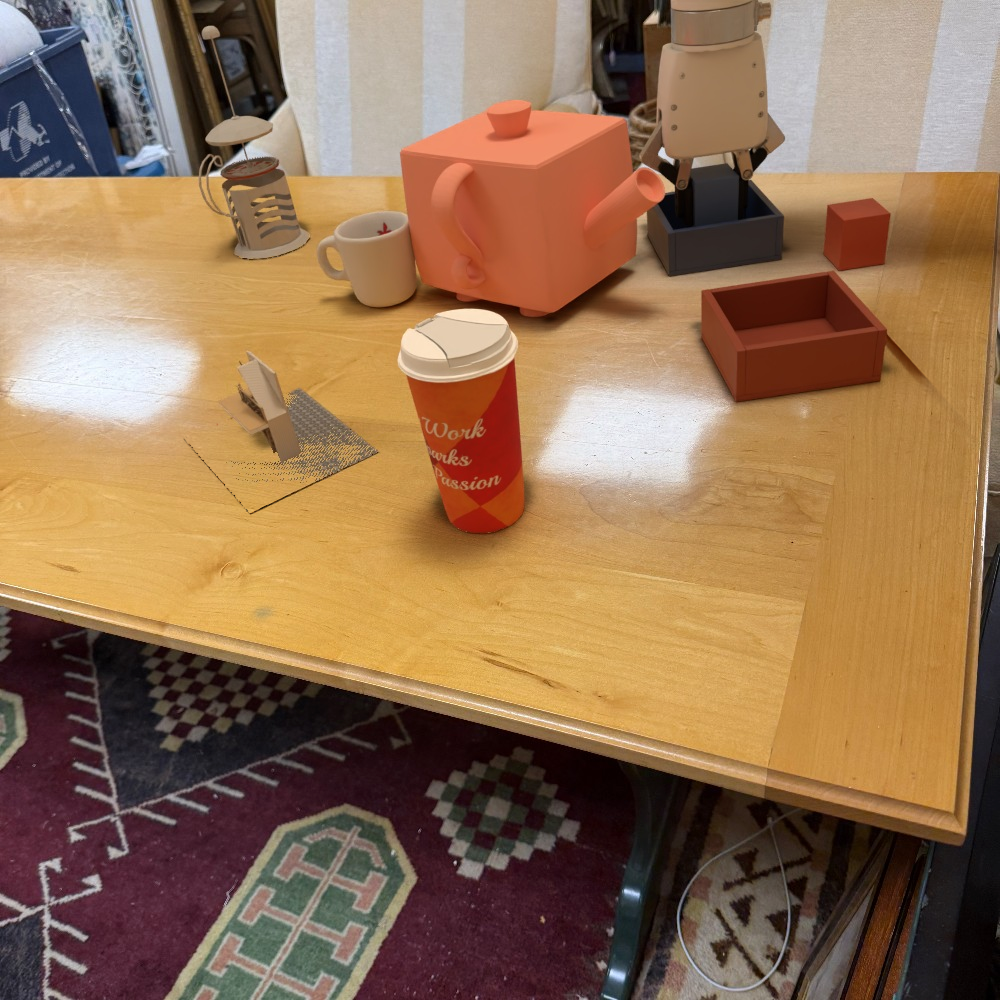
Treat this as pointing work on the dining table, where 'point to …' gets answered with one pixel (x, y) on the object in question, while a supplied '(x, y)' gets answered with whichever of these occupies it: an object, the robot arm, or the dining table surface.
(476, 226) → the teapot
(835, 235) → the red block
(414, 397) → the paper cup
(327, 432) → the architectural model
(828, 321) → the terracotta bin
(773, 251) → the slate bin
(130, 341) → the dining table surface
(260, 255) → the french press
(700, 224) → the slate block
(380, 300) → the cup
